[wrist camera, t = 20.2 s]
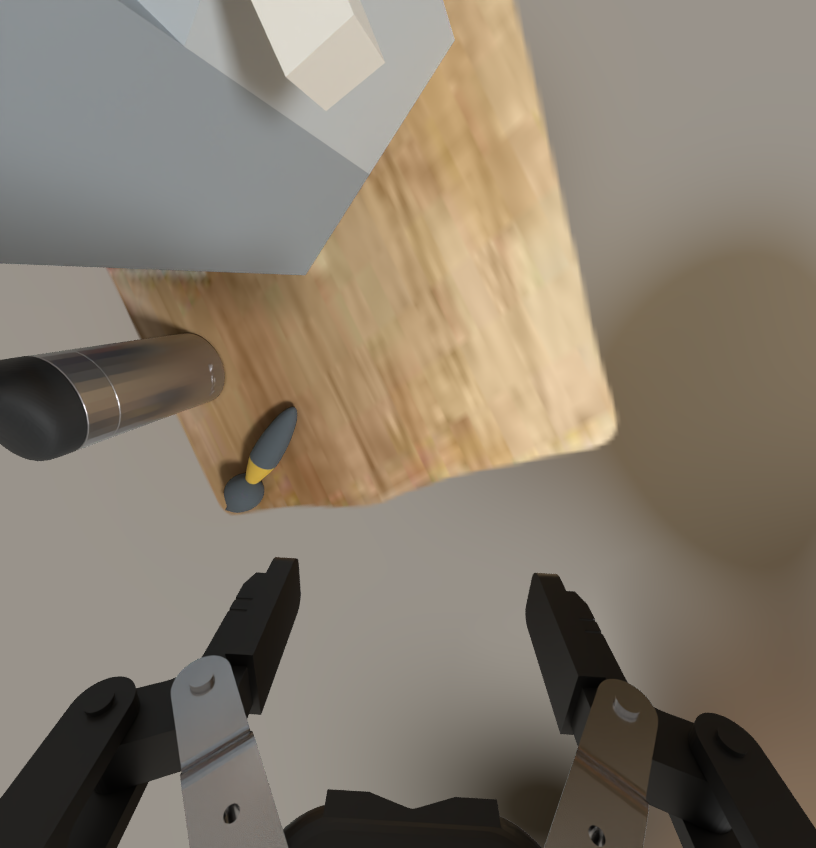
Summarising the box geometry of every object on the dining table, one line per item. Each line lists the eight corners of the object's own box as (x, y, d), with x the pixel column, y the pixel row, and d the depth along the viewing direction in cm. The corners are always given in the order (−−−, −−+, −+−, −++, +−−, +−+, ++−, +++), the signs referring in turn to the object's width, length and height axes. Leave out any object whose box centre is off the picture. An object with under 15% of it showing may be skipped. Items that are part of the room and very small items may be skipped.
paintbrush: (275, 388, 48) (249, 399, 44) (308, 410, 48) (285, 423, 44) (233, 496, 57) (207, 514, 52) (260, 514, 57) (237, 534, 52)
